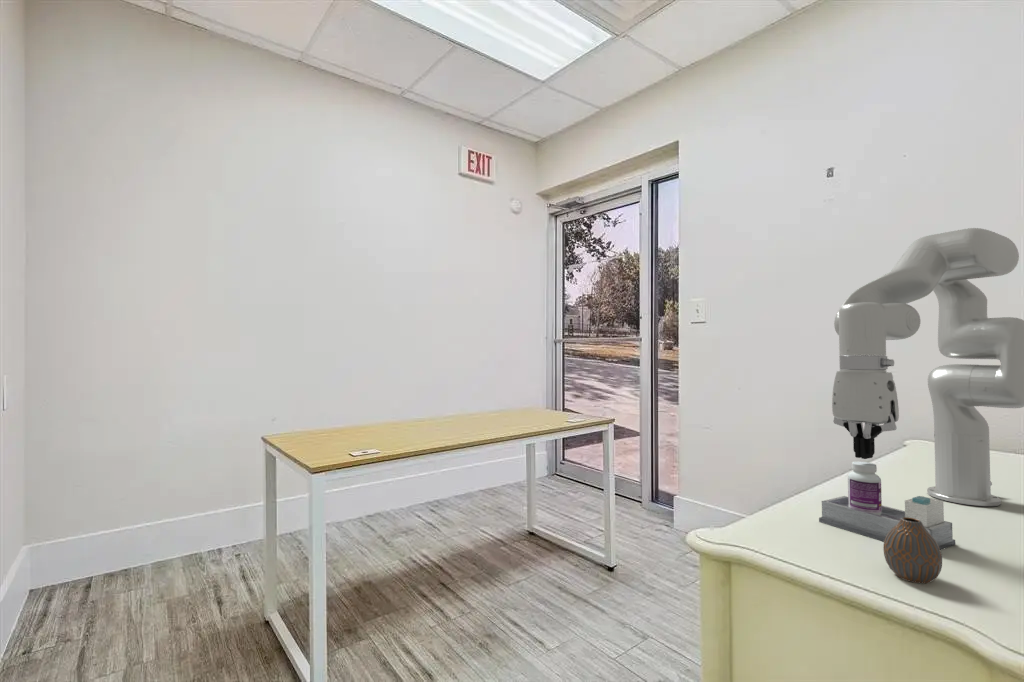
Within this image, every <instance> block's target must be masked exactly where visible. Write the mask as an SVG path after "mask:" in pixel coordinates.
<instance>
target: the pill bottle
mask: <svg viewBox="0 0 1024 682" xmlns="http://www.w3.org/2000/svg"><path fill="white" fill-rule="evenodd" d="M851 470H852V471H851V472H849V473H848V475H847V490H848V491H847V497H848V504H849V507H850V508H853V509H857V510H861V511H865V512H868V513H872V514H876V515H881V514H882V501H883V500H882V479H881V477H880V476H879V475H878V474H876V473H877V471H878V468H877V464H875V463H872V462H866V461H851Z"/></svg>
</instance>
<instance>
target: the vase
mask: <svg viewBox="0 0 1024 682" xmlns="http://www.w3.org/2000/svg"><path fill="white" fill-rule="evenodd" d="M882 550H883V556H884V559H885V562H886V564H887V565H888V567H889V568H890V570H891V571H892V572H893V573H894V574H895V575H896V576H897V577H899V578H900V579H903V580H905V581H908V582H912V583H917V584H929V583H931V582H933V581H934V580H936V579H937V578H938V577H939V575H940V574H941V571H942V568H943V556H942V555H943V554H942V550H940V548H939V546H938V544H937V542H936V541H935V539H934V538H933V537H932V536H931V535H930V533H929V532H928V531H927V530H926V529H925V527H924V526H923V524H922V522H921V521H920V520H918V519H915V518H909V517H903V518H901V520H900V521H899V523H898V524H897V525H896V526H895V527H893V528H892V529H891V530H890V531H889V532H888V534H887V535H886V537H885V540H884V541H883V549H882Z"/></svg>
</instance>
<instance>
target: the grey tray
mask: <svg viewBox="0 0 1024 682" xmlns="http://www.w3.org/2000/svg"><path fill="white" fill-rule="evenodd" d="M944 506H945V505H944V500H941V499H938V498H934V497H933V498H931V497H927V496H923V495H917V496H914V497H912V498H910V499H909V498H908V499H905V500H904V510H902V509H898V508H894V507H890V506H886V505H882V514H881V515H876V514H872V513H868V512H865V511H861V510H857V509H853V508H850V507H849V504H848V495H847V496H846V495H843V496H838V497H833V498H830V499H825V500H821V517H819V518H818V522H819V523H823V524H825V525H830V526H833V527H836V528H839V529H842V530H845V531H849V532H851V533H855V534H858V535H862V536H865V537H867V538H868V537H869V538H872V539H875V540H878V541H880V542H884V540H885V537H886V535H887V534H888V532H889V531H890V530H891V529H892V528H893V527H895V526H896V525H897V524H898V523H899V521H900V520H901V518H903V517H909V518H915V519H918V520H920V521H921V522H922V524H923V526H924V527H925V529H926V530H927V531H928V532H929V533H930V535H931V536H932V537H933V538H934V539H935V541H936V542H937V544H938V546H939V548H940V551H942V550H944V548H945V549H947V548H950V547H952V546H954V545H955V546H956V539H954V538H953V522H952V521H951V522H950V521H946V520H945V519H944V517H945V516H944V513H945V511H944V510H945V508H944Z"/></svg>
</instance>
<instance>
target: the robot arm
mask: <svg viewBox="0 0 1024 682" xmlns="http://www.w3.org/2000/svg"><path fill="white" fill-rule="evenodd" d="M1019 255H1020V253H1019V250H1018V247H1017V245H1016V244H1015V243H1014V241H1013V240H1012V239H1010V238H1009V237H1007V236H1004V235H1002V234H1001V233H998V232H995V231H992V230H989V229H986V228H985V229H984V228H978V227H969V228H964V229H958V230H952V231H951V230H950V231H947V232H946V231H945V232H941V233H935V234H934V233H933V234H930V235H925V236H923V237H920V238H918V239H916V240H914V241H912V242H911V244H910V245H909V246H908V247H907V249H906V250H905V251H904V253H903V254H902V255H901V256H900V258H899V259H898V260H897V262H896V263H895V264H894V266H893V268H892V269H891V271H889V272H888V273H887V272H886V273H885V274H883V275H881V276H879V277H877V278H875V279H874V280H871V281H870V282H868V283H866V284H864V285H862V286H860V287H858V288H857V289H855V290H854V291H852V292H851V293H850V294H849V296H847V297H846V299H845V300H844V301H843V303H842V304H841V306H840V307H839V309H838V310H837V312H836V314H835V316H834V321H833V322H834V323H833V325H834V326H833V327H834V331H835V332H836V334H837V336H838V345H839V347H838V349H839V352H838V353H839V354H838V355H839V371H838V370H836V373H835V377H834V382H833V387H832V396H831V397H832V398H831V399H832V400H831V408H832V410H831V411H832V412H831V413H832V415H833V424H835V425H837V426H839V427H844V428H845V429H846V430H847V431H848V433H849V435H850V436H851V437H852V439H853V440H852V441H853V444H852V445H853V452H854V456H855V457H854V458H857V459H860V458H861V459H863V460H866V459H873V457H874V455H875V453H876V452H875V449H876V448H875V447H876V446H875V439H877V438H878V436H880V434H881V433H883V432H892V431H896V430H897V424H896V422H898V421H899V418H900V412H899V411H900V410H899V409H900V407H899V399H898V394H897V393H898V392H897V387H896V383H895V379H894V375H893V372H892V371H891V372H887V370H888V368H890V367H894V366H895V360H894V359H893V358H892V359H891V358H890V359H889V358H888V356H887V342H886V341H897V340H906V339H908V338H911V337H913V336H914V335H915V334H916V333H917V332H918V331H919V329H920V328H921V327H920V326H921V316H920V314H919V312H918V311H917V309H916V308H915V307H913V306H912V305H910V304H909V303H912V302H915V301H918V300H921V299H924V298H925V297H927V296H929V295H930V294H931V293H932V292H933V293H934V294H935V296H936V298H937V302H938V325H937V327H938V328H937V348H938V351H939V352H940V354H941V355H942V356H944V357H946V358H950V359H958V360H959V359H960V360H961V359H962V360H998V361H999V362H1000V364H994V365H993V364H958V363H957V364H944V365H940V366H936V367H935V368H933V369H932V370H930V372H929V373H928V376H927V387H928V391H929V392H928V393H929V396H930V400H931V405H932V410H933V411H932V412H933V429H934V430H933V432H934V433H933V434H934V435H933V438H934V443H933V444H934V474H935V475H934V477H935V478H934V479H935V480H934V481H935V486H929V487H927V488H926V493H927V494H928V495H929V496H931V497H933V498H934V499H937V500H942V501H946V502H951V503H955V504H962V505H967V506H977V507H997V506H1000V505H1001V503H1002V500H1001V498H999V496H997V495H994V494H992V492H991V491H992V490H991V487H992V485H993V482H992V481H991V460H990V459H991V456H990V455H991V454H990V453H991V452H990V450H991V449H990V426H989V424H988V422H987V420H986V418H985V417H984V416H983V415H982V414H981V412H979V410H978V409H977V408H976V407H987V408H1001V409H1002V408H1003V409H1021V408H1024V319H1022V318H1018V317H1011V316H1010V317H1009V316H1008V317H988V299H987V296H986V295H985V293H984V292H983V291H982V290H981V289H980V288H979V287H977V286H976V284H974V283H972V282H971V281H969V280H973V279H974V280H975V279H983V278H992V277H993V278H994V277H1001V276H1005V275H1007V274H1008V275H1009V274H1010V273H1012V272H1013V271H1014V270H1015V268H1016V267H1018V263H1019V261H1020V260H1019V258H1020V256H1019ZM863 423H864V425H863Z"/></svg>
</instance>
